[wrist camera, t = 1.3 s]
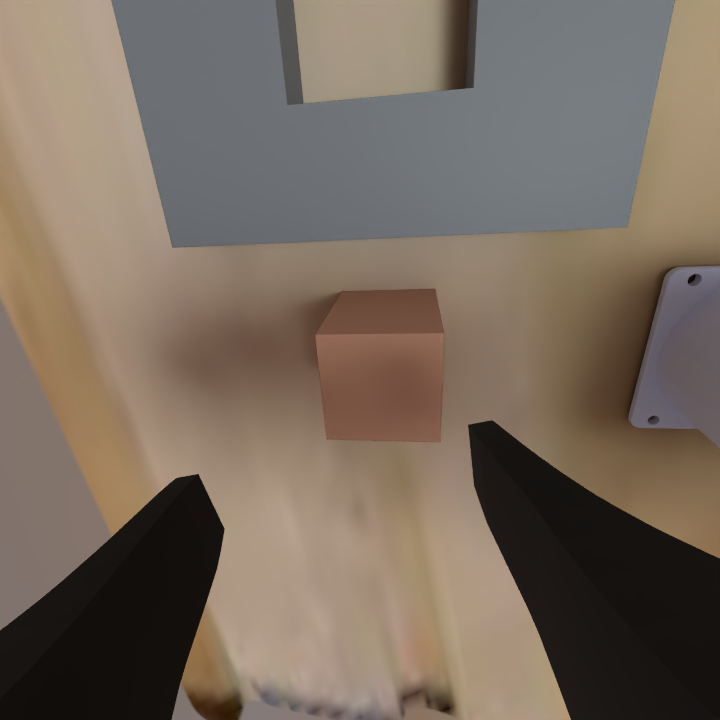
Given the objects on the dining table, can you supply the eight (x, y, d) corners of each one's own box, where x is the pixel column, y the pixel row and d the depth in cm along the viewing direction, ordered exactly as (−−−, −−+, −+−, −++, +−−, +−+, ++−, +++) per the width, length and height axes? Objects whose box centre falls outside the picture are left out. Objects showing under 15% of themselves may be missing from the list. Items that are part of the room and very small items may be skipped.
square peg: (435, 288, 19) (444, 333, 13) (433, 373, 21) (440, 442, 15) (342, 291, 19) (315, 334, 14) (348, 372, 21) (326, 439, 16)
